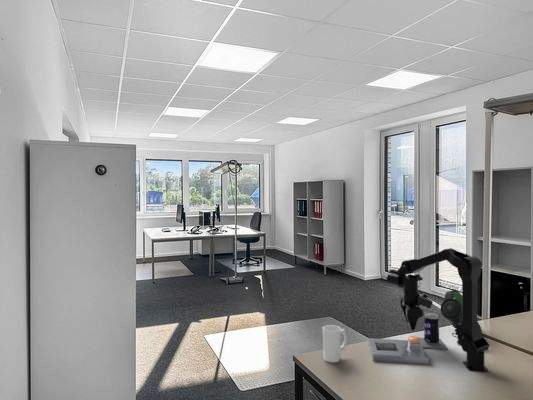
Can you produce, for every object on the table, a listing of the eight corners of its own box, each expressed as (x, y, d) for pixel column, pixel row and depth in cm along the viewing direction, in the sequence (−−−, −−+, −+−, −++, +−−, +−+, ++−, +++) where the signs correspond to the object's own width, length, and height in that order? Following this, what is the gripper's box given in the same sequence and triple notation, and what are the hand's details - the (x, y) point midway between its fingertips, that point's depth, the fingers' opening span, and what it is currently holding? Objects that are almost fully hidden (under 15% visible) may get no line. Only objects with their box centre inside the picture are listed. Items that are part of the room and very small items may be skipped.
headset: (459, 360, 161) (459, 312, 184) (492, 355, 153) (488, 305, 175) (435, 330, 158) (439, 285, 181) (468, 323, 150) (467, 277, 172)
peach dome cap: (421, 347, 145) (421, 340, 144) (409, 346, 145) (409, 340, 145) (418, 343, 149) (418, 336, 149) (407, 342, 150) (407, 335, 150)
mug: (328, 364, 139) (327, 332, 139) (319, 356, 146) (319, 326, 146) (351, 360, 143) (351, 328, 142) (342, 353, 149) (342, 323, 149)
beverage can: (427, 339, 161) (426, 311, 161) (440, 342, 157) (440, 314, 157) (422, 343, 157) (422, 314, 157) (436, 346, 153) (436, 317, 153)
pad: (447, 349, 152) (447, 348, 152) (421, 348, 153) (421, 346, 153) (440, 340, 162) (440, 338, 162) (416, 338, 163) (416, 337, 163)
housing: (428, 364, 139) (428, 350, 139) (373, 360, 142) (373, 347, 142) (418, 347, 154) (418, 334, 154) (368, 344, 158) (368, 332, 158)
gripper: (437, 296, 148) (436, 335, 148) (425, 284, 166) (425, 319, 167) (407, 295, 150) (407, 333, 150) (399, 283, 168) (398, 318, 168)
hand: (410, 326), depth 159 cm, fingers open, 9 cm apart
